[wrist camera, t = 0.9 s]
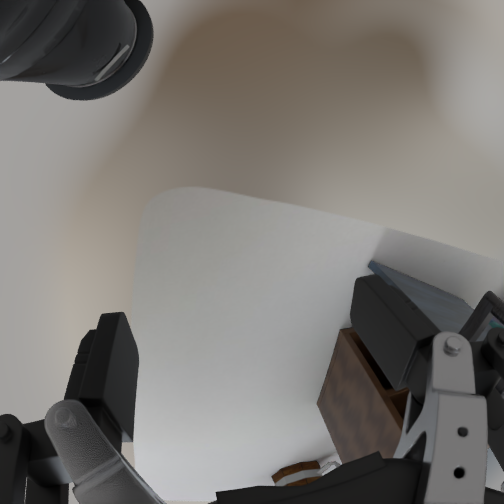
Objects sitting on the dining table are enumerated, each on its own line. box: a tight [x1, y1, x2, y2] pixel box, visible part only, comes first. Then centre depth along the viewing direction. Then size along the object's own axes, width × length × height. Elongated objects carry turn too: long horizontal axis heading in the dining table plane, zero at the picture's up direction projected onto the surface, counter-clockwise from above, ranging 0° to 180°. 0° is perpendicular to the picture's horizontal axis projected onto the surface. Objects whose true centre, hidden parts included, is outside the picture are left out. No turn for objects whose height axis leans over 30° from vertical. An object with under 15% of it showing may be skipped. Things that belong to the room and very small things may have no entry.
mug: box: [272, 461, 340, 486], centre depth 58 cm, size 20×14×15 cm
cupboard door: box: [368, 261, 504, 399], centre depth 29 cm, size 7×26×24 cm, turn 66°
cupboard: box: [317, 328, 489, 464], centre depth 37 cm, size 18×26×24 cm
